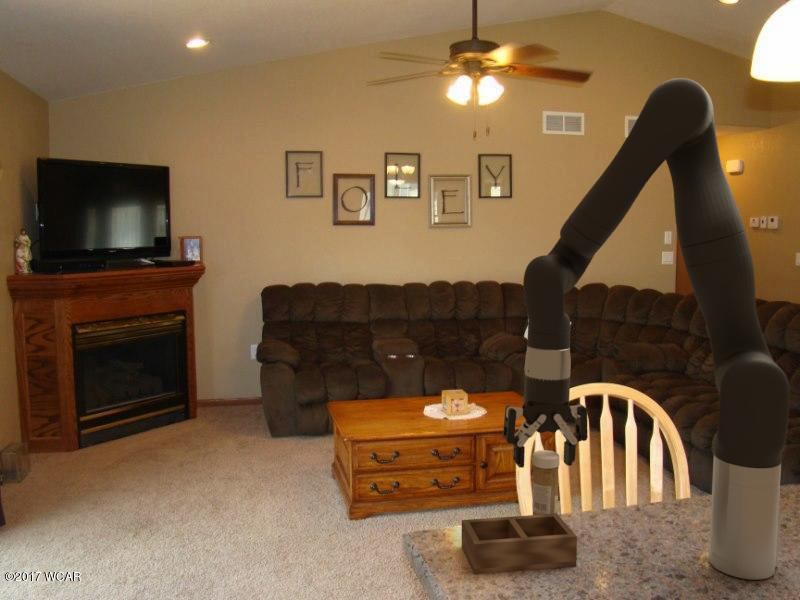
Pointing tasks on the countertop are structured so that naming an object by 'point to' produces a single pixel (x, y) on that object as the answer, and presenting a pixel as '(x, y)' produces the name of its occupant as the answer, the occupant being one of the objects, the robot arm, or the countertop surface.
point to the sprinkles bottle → (545, 482)
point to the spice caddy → (518, 543)
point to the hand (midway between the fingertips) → (544, 465)
